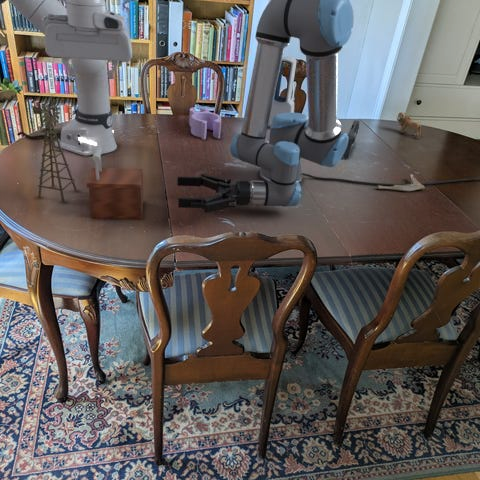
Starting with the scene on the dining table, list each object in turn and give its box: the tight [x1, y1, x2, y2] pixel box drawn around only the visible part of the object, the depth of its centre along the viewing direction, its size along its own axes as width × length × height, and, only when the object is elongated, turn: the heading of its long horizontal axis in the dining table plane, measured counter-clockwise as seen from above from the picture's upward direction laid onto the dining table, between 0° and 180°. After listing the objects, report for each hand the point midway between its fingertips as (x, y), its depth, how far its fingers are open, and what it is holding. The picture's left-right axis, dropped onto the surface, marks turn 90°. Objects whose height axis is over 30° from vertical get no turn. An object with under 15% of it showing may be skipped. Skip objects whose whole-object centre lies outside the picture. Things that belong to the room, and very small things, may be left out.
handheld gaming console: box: [342, 119, 361, 159], centre depth 194 cm, size 23×3×10 cm, turn 161°
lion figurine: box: [396, 111, 424, 139], centre depth 219 cm, size 15×5×9 cm, turn 50°
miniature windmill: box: [31, 95, 78, 203], centre depth 135 cm, size 9×8×30 cm
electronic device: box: [267, 56, 298, 128], centre depth 205 cm, size 12×8×30 cm, turn 71°
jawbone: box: [376, 173, 426, 193], centre depth 169 cm, size 9×20×2 cm, turn 126°
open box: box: [88, 174, 144, 220], centre depth 136 cm, size 14×10×10 cm
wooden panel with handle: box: [86, 147, 144, 189], centre depth 131 cm, size 14×10×9 cm
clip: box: [188, 106, 222, 140], centre depth 199 cm, size 20×12×7 cm, turn 23°
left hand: (91, 77), depth 117 cm, fingers open, 8 cm apart
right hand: (177, 191), depth 137 cm, fingers open, 13 cm apart
